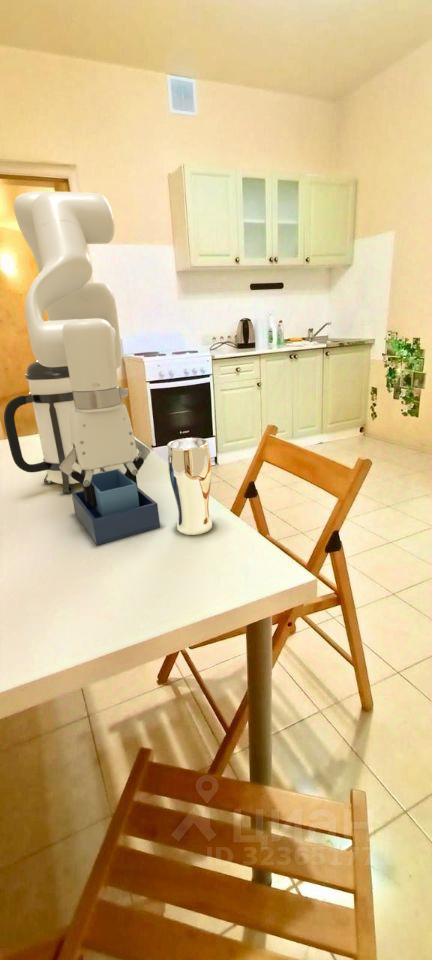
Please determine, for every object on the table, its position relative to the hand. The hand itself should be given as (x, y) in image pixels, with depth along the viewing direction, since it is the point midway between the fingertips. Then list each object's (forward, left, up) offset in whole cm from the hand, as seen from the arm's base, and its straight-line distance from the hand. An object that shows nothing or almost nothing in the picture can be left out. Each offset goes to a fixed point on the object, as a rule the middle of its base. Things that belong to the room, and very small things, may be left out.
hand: (112, 498), depth 80 cm
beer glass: (+11, +11, -5) cm, 16 cm away
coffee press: (-25, -2, -5) cm, 26 cm away
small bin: (0, 0, -1) cm, 1 cm away
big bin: (0, 0, -4) cm, 4 cm away
